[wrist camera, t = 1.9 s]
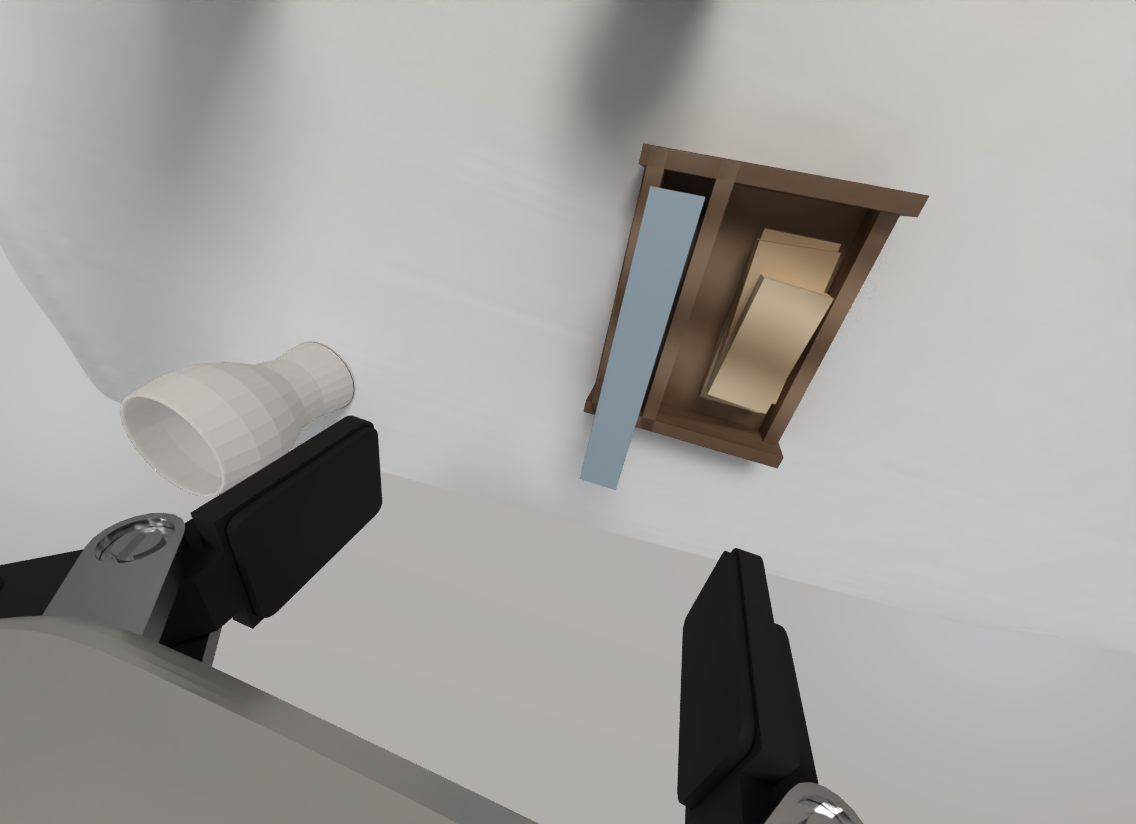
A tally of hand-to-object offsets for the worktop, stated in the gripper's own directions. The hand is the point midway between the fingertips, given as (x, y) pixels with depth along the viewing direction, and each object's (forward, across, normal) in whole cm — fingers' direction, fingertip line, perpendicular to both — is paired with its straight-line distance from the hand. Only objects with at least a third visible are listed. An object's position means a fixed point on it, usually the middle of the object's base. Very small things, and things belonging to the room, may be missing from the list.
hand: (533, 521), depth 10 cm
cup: (+25, +31, +16) cm, 43 cm away
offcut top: (+21, -8, -1) cm, 22 cm away
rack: (+25, -5, -1) cm, 25 cm away
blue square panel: (+24, -1, -1) cm, 24 cm away
